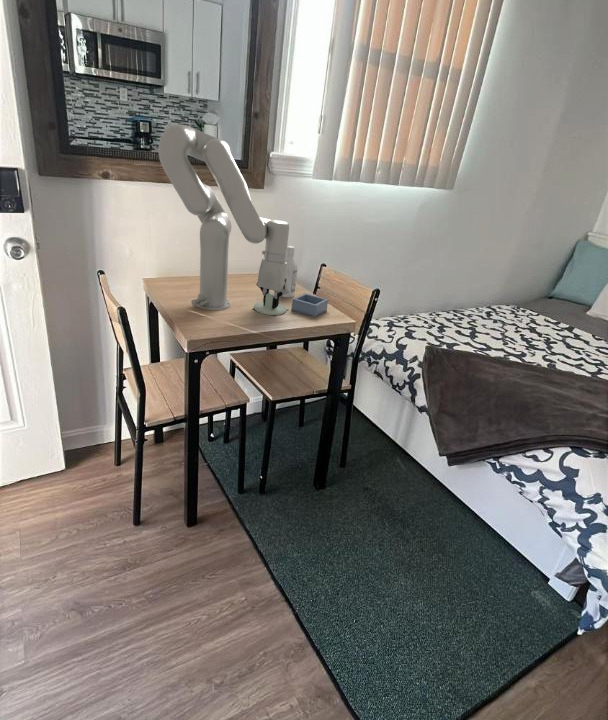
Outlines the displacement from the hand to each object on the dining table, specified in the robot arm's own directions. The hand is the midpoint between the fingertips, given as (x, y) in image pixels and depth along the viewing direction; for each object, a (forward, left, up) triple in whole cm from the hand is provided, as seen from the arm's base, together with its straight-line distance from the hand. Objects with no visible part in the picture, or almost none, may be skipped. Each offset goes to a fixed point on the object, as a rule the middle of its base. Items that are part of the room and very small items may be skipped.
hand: (270, 306), depth 166 cm
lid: (0, 0, -1) cm, 1 cm away
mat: (0, 0, -2) cm, 2 cm away
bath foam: (+20, +5, -2) cm, 21 cm away
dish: (+10, -11, -2) cm, 15 cm away
